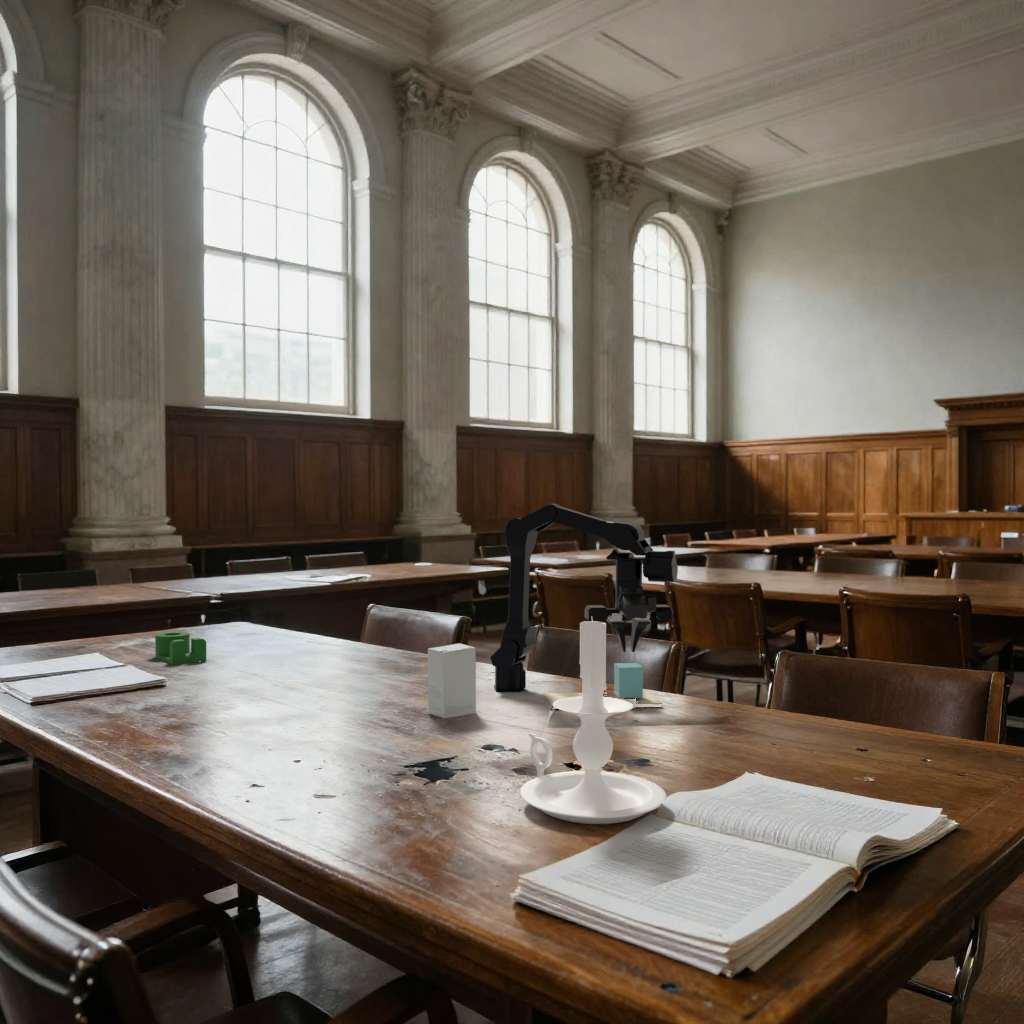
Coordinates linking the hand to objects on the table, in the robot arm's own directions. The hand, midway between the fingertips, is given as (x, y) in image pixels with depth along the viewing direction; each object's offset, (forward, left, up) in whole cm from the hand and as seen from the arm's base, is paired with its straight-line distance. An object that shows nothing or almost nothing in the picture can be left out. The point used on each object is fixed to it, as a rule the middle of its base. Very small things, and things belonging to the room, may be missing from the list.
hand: (628, 652), depth 203 cm
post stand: (-6, 0, -11) cm, 13 cm away
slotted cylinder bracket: (-112, +64, -11) cm, 130 cm away
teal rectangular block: (0, 0, -10) cm, 10 cm away
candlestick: (-22, -68, -11) cm, 73 cm away
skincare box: (-39, -13, -11) cm, 43 cm away
